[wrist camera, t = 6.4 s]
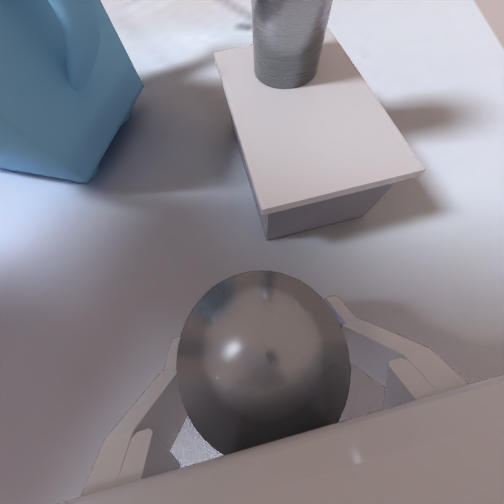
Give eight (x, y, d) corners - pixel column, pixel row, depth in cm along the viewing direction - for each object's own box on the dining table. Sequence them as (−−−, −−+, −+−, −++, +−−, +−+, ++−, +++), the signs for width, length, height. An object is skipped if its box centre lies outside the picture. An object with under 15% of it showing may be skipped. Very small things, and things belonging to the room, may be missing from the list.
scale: (226, 122, 20) (213, 52, 15) (311, 103, 21) (328, 27, 15) (262, 247, 16) (262, 209, 10) (371, 219, 16) (425, 169, 11)
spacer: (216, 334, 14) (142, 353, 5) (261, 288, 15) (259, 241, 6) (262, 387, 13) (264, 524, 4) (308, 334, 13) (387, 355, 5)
